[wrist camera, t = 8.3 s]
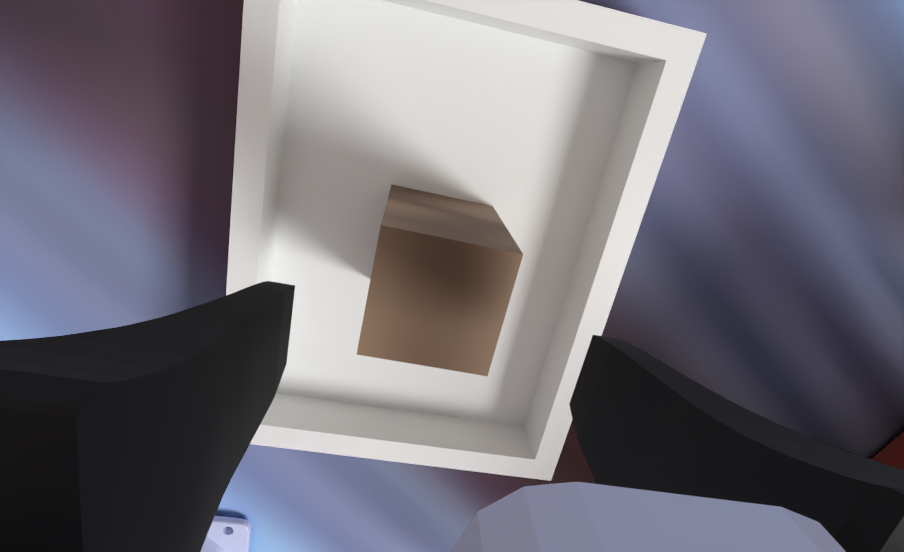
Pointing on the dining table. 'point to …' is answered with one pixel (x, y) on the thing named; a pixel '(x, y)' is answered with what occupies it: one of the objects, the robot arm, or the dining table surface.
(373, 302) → the walnut block
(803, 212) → the dining table surface
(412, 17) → the tray
